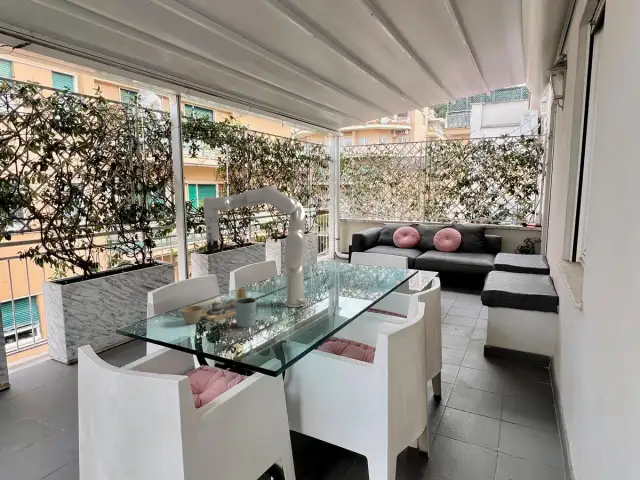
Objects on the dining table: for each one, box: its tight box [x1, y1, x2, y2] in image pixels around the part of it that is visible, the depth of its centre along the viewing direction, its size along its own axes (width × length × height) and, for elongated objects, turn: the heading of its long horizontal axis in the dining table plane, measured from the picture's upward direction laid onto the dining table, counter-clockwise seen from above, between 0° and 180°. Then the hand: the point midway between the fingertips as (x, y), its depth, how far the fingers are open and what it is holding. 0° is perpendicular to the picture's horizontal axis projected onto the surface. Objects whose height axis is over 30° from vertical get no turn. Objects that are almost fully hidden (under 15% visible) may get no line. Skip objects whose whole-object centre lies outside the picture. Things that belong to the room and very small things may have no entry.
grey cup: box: [234, 297, 257, 329], centre depth 183 cm, size 10×10×12 cm
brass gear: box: [234, 288, 247, 302], centre depth 220 cm, size 10×10×7 cm
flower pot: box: [180, 305, 203, 325], centre depth 187 cm, size 10×10×7 cm
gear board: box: [200, 298, 236, 322], centre depth 202 cm, size 15×25×7 cm, turn 140°
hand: (213, 250), depth 211 cm, fingers open, 9 cm apart
